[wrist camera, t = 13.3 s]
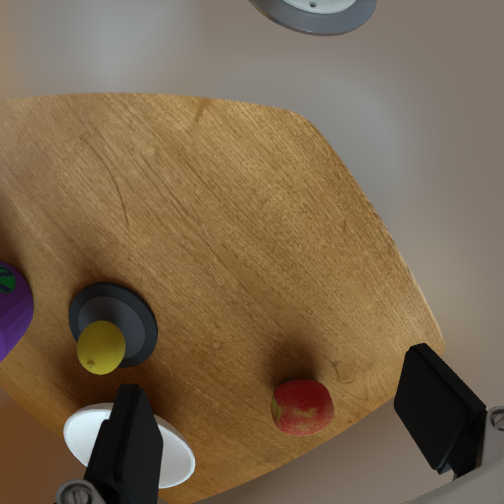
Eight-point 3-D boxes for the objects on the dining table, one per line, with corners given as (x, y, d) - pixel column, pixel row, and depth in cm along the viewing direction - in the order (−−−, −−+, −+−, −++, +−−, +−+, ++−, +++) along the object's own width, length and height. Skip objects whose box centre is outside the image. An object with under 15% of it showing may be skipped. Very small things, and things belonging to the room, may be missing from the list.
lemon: (140, 337, 36) (125, 377, 28) (108, 354, 36) (90, 392, 29) (113, 302, 35) (91, 336, 27) (82, 320, 35) (58, 355, 27)
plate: (65, 277, 34) (62, 280, 33) (156, 286, 35) (155, 289, 35) (78, 358, 37) (76, 361, 36) (160, 368, 39) (159, 372, 38)
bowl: (78, 358, 37) (61, 388, 31) (211, 399, 41) (211, 434, 34) (76, 437, 42) (66, 464, 35) (181, 468, 45) (180, 498, 39)
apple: (273, 366, 40) (284, 407, 33) (331, 367, 41) (350, 404, 34) (263, 408, 42) (272, 448, 35) (317, 407, 44) (332, 444, 36)
